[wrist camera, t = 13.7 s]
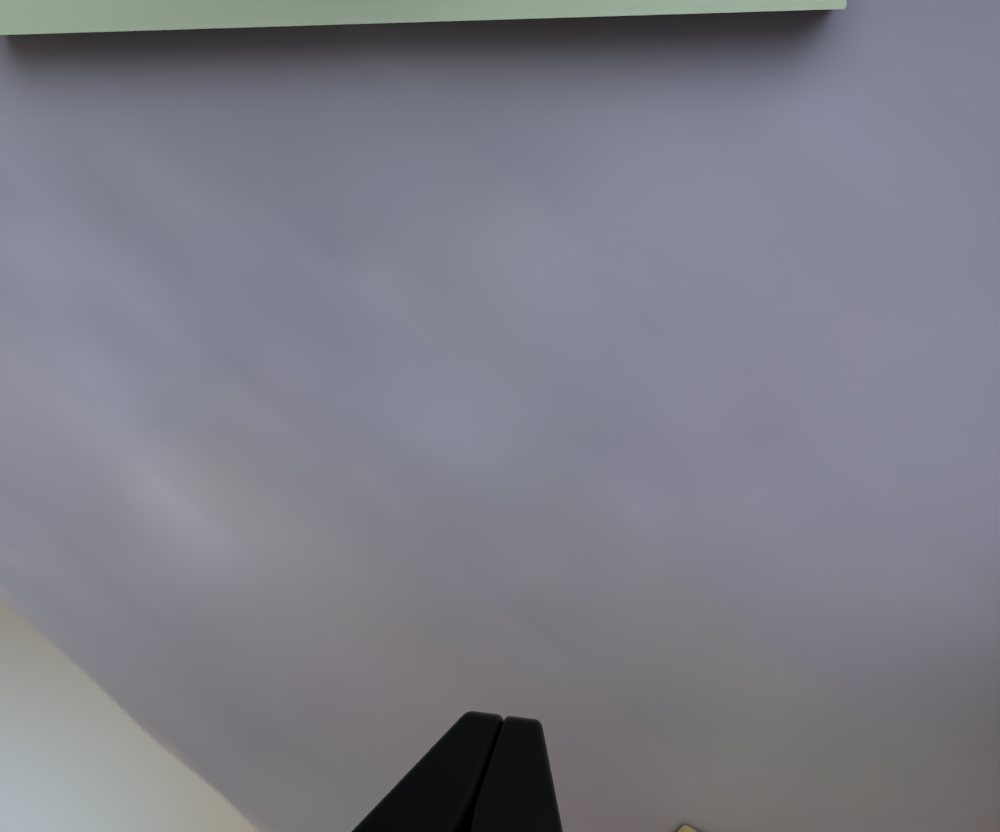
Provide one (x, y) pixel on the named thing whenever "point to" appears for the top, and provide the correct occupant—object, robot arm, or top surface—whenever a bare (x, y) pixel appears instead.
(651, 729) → the top surface
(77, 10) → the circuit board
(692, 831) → the candy box
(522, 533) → the top surface
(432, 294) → the top surface
